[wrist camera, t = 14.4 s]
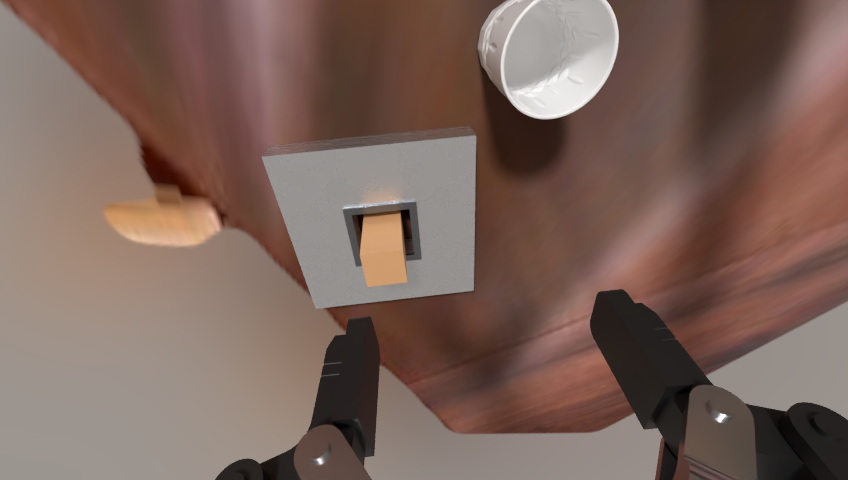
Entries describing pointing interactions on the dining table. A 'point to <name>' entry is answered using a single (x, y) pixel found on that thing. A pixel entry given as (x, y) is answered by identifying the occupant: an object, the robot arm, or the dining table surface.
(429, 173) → the slab with square hole
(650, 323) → the robot arm
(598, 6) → the white cup
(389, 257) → the tan wooden block
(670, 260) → the dining table surface
